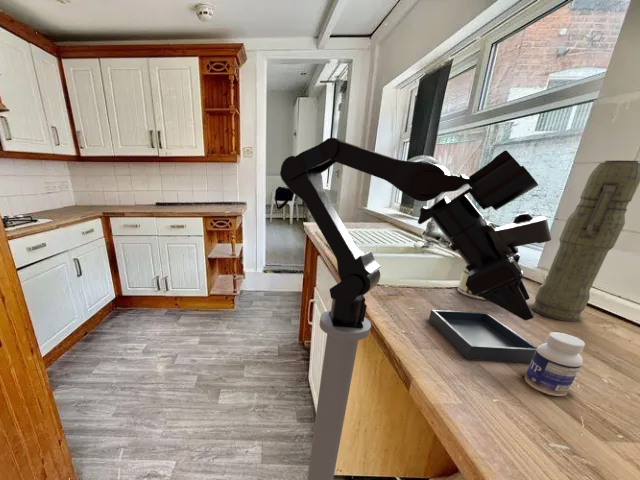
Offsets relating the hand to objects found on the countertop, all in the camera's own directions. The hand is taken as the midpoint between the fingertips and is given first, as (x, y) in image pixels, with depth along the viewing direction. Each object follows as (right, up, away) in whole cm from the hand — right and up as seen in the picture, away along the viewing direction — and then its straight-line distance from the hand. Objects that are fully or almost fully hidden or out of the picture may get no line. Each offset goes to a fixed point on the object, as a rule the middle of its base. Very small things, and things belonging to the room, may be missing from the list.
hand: (527, 308), depth 48 cm
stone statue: (+32, -3, +28) cm, 43 cm away
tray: (+2, -7, +15) cm, 16 cm away
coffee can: (+20, +2, +39) cm, 44 cm away
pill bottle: (+4, -13, +1) cm, 13 cm away
